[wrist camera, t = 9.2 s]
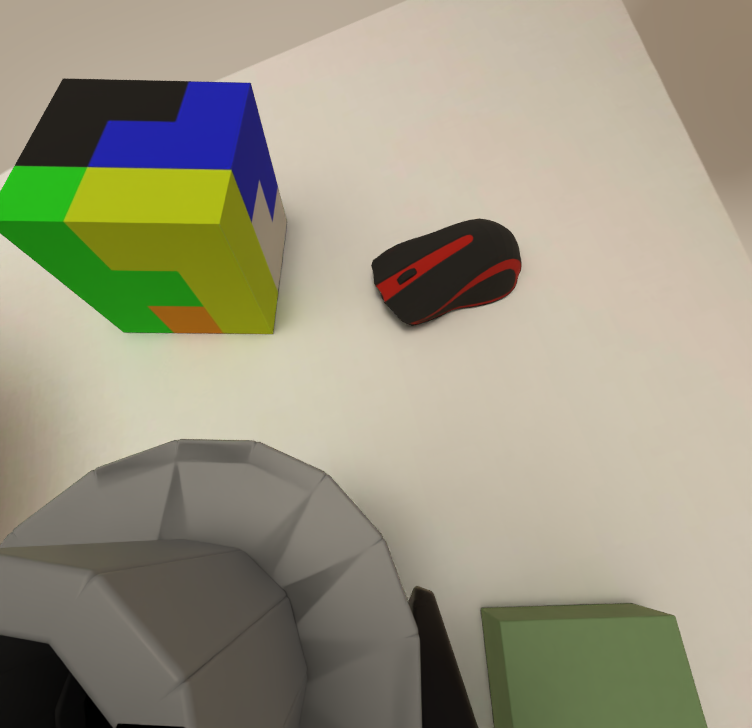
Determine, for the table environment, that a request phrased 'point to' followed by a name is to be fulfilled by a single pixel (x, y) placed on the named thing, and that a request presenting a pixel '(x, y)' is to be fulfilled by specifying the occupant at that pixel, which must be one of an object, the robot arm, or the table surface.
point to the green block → (588, 668)
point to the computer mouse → (448, 270)
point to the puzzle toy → (153, 204)
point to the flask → (204, 600)
